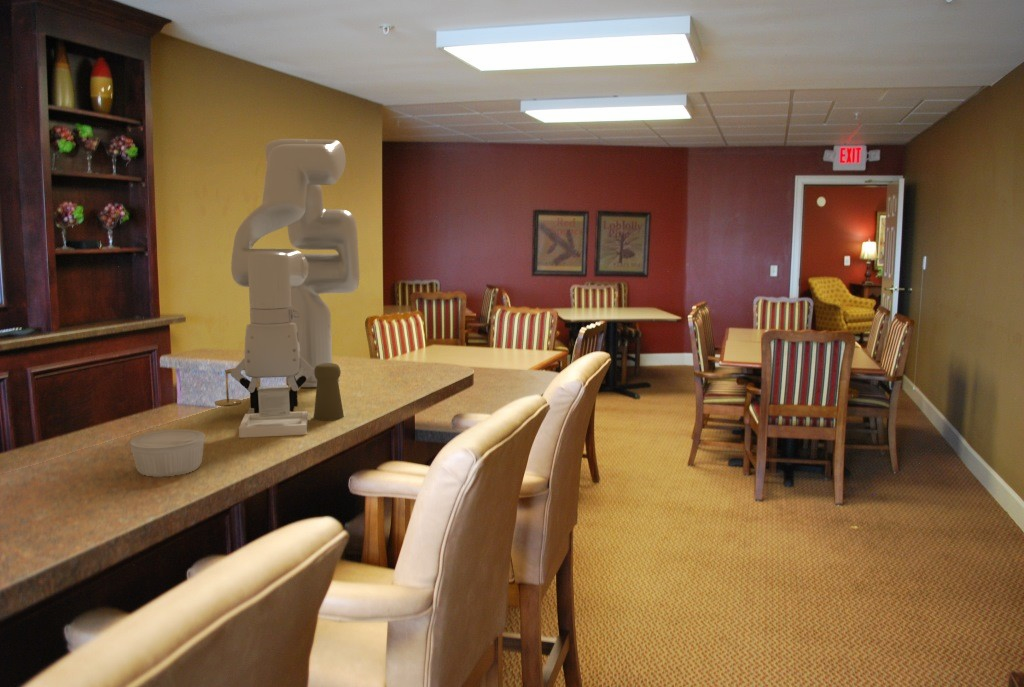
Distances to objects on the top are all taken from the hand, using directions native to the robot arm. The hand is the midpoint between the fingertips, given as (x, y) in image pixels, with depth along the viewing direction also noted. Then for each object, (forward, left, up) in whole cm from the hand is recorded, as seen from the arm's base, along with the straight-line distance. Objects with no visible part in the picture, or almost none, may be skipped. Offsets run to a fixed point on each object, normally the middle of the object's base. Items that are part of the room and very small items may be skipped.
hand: (274, 410), depth 162 cm
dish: (0, 0, -4) cm, 4 cm away
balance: (-12, -4, -4) cm, 13 cm away
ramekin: (+25, -15, -4) cm, 29 cm away
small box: (0, 0, -1) cm, 1 cm away
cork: (-8, +10, -4) cm, 13 cm away
